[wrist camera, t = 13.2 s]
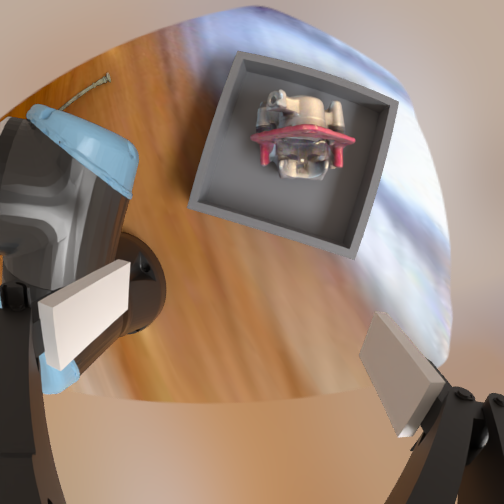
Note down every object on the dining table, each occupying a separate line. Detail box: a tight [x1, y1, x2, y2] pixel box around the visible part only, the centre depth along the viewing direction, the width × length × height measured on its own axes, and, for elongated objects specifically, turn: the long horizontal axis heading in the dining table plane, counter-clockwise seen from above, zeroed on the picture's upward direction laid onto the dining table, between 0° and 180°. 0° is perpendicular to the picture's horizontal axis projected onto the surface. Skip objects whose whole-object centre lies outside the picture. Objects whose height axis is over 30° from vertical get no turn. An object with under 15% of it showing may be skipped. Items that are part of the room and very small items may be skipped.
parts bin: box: [187, 51, 399, 260], centre depth 33 cm, size 20×20×5 cm
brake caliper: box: [250, 89, 355, 180], centre depth 30 cm, size 11×11×12 cm
